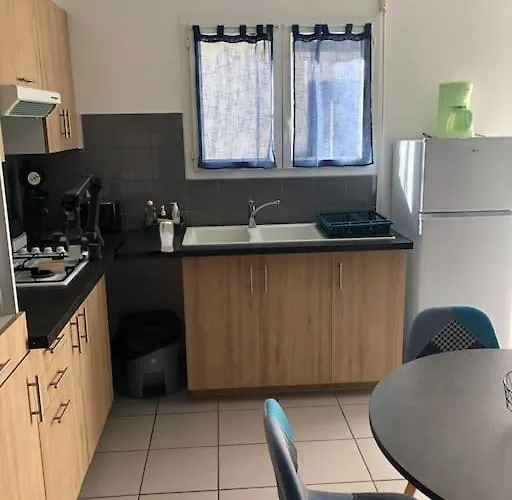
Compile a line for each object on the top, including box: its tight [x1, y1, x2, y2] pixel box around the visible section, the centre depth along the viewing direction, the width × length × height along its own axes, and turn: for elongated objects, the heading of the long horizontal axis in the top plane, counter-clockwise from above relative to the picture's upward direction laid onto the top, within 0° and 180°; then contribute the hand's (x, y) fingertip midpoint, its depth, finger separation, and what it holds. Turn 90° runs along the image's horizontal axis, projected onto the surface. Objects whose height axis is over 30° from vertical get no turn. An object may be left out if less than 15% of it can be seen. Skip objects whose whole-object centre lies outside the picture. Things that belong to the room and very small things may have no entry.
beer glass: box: [159, 221, 174, 253], centre depth 298 cm, size 7×7×15 cm
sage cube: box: [67, 244, 83, 259], centre depth 261 cm, size 5×5×5 cm
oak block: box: [37, 259, 67, 274], centre depth 254 cm, size 10×10×4 cm
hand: (75, 255), depth 261 cm, fingers closed on sage cube, 5 cm apart
